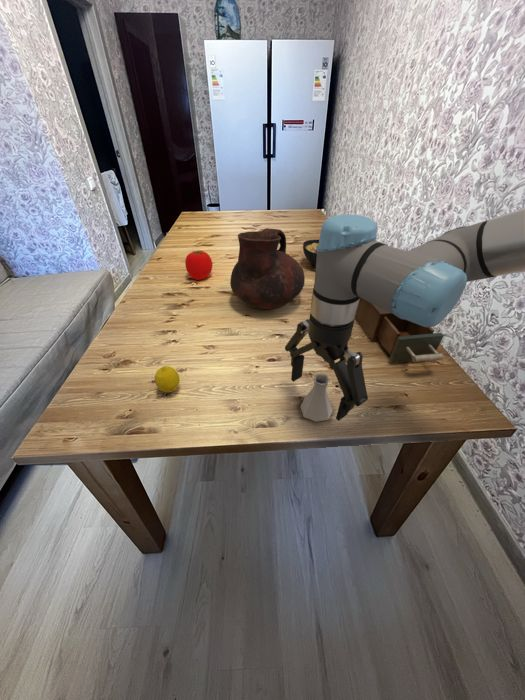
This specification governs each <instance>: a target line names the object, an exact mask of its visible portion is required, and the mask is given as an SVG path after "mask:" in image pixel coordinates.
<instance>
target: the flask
mask: <svg viewBox="0 0 525 700" xmlns="http://www.w3.org/2000/svg"><path fill="white" fill-rule="evenodd" d="M312 380H313V385H312V388H311V389H310V391H309V392H308V393H307V394H306V395H305V397H304V399H303V401H302V402H301V405H300V410H301V412H302V415H303V418H305V419H308V420H310V421H314V422H316V423H317V422H323V421H329V420H330V418H331V415H332V413H333V407H332V404H331V401H330V398H329V394H328V388H327V387H328V384H329V382H330V378H329V376H328V375H327V374H324V373H316V374H314V377H313V378H312Z"/></svg>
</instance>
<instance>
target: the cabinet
mask: <svg viewBox="0 0 525 700" xmlns="http://www.w3.org/2000/svg"><path fill="white" fill-rule="evenodd" d="M391 315H394V314H392V313H390V312H388V311H386V310H384V309H382V308H380V307H378V306H376V305H374V304H372V303H370V302H369V301H367V300H365V299H363V298H360V300H359V304H358V308H357V312H356V316H355V318H354V319H355V320H356V321H357V322H358V324H359V326H360V327H361V328H362V330H363V331H364V332H365V334H366V336H367V338H368V339H369V340H370V341H371V342H372V343H375V342H380V341H379V340H378V338H377V337H376V336H377V332H378V329H379V326H380V323H381V319H382V316H391Z"/></svg>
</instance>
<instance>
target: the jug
mask: <svg viewBox="0 0 525 700" xmlns="http://www.w3.org/2000/svg"><path fill="white" fill-rule="evenodd" d="M237 239H238V245H239V251H238V259H237V262H236V263H235V265H234V266H233V269H232V271H231V274H230V282H229V284H230V289H231V291H232V293H233V295H234V296H235V297H236V298H237V299H238V300H239V301H241V302H242V303H243V304H245V305H247V306H249V307H252V308H255V309H259V310H260V309H261V310H274V309H278V308H281V307H284V306H285V305H287V304H289V303H291V302H292V301H293V300H295V298H297V296H299V295H300V293H301V292H302V290H303V288H304V286H305V281H306V278H305V272H304V270H303V267H302V266H301V263H299V262H298V261H297V260H296V259H295V258H294V257H293V256H291V255H290V254H287V237H286V234H285V232H283V230H282V229H278V228H267V227H266V228H264V229H263V230H257V231H245V232H240V233H237ZM278 247H279V248H278Z"/></svg>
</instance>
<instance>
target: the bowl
mask: <svg viewBox="0 0 525 700" xmlns="http://www.w3.org/2000/svg"><path fill="white" fill-rule="evenodd" d="M318 244H319V239H308V240H305V241H303V243H302V251H303V254H304V257H305V258H306V259H307V261H308V262H309V263H310V265H311V267H312V268H315V269H316V259H317V248H318Z"/></svg>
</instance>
